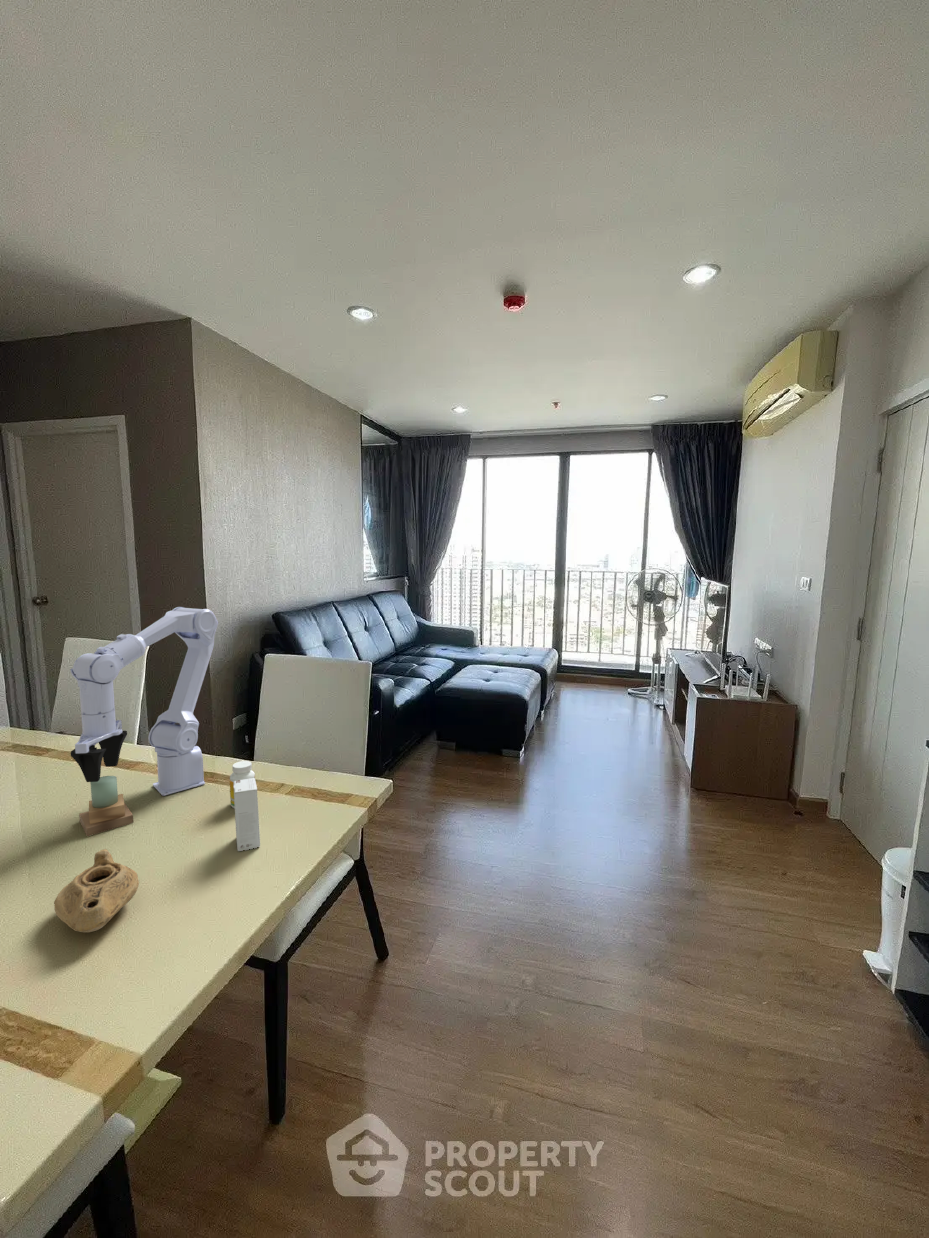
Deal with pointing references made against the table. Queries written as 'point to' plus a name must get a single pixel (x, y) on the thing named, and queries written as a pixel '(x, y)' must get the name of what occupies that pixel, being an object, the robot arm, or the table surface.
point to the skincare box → (246, 814)
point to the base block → (104, 822)
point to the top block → (107, 811)
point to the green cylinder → (104, 792)
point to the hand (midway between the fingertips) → (102, 773)
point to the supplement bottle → (240, 775)
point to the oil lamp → (96, 894)
